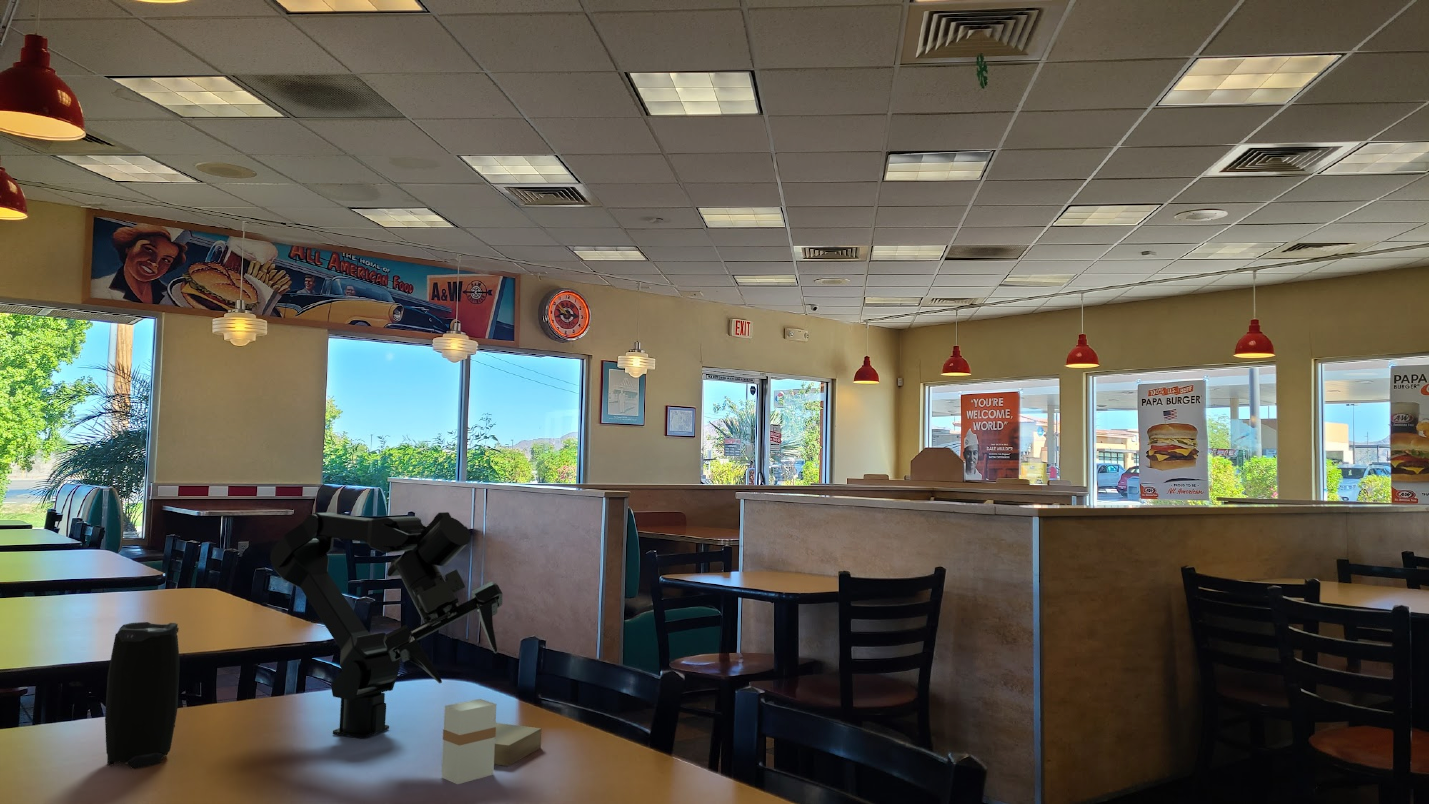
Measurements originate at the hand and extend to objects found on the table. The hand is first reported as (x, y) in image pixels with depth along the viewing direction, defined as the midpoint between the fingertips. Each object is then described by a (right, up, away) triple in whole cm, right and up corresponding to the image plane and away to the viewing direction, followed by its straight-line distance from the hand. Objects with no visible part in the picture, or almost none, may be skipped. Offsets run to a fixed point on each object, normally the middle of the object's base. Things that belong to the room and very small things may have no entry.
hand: (468, 667), depth 145 cm
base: (+4, -13, +1) cm, 14 cm away
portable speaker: (-46, -12, -8) cm, 48 cm away
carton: (+3, -13, -10) cm, 17 cm away
